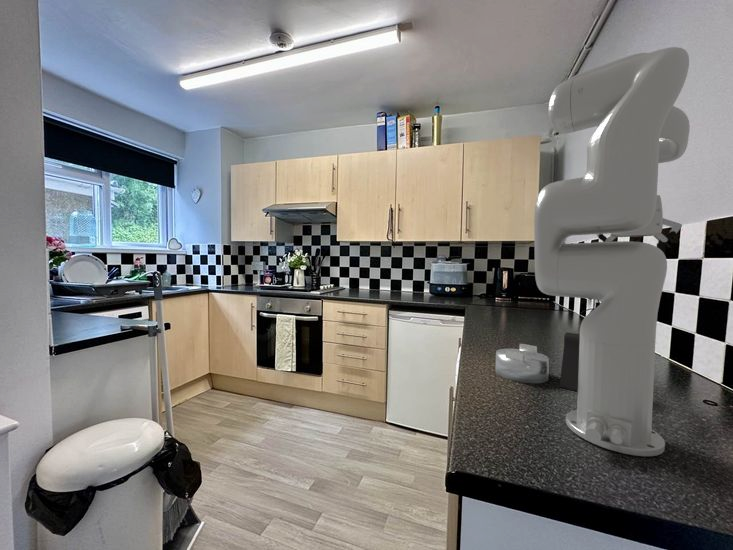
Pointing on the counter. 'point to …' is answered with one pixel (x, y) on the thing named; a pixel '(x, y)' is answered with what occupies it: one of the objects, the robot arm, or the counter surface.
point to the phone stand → (570, 362)
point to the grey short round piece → (522, 364)
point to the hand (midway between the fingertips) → (633, 258)
